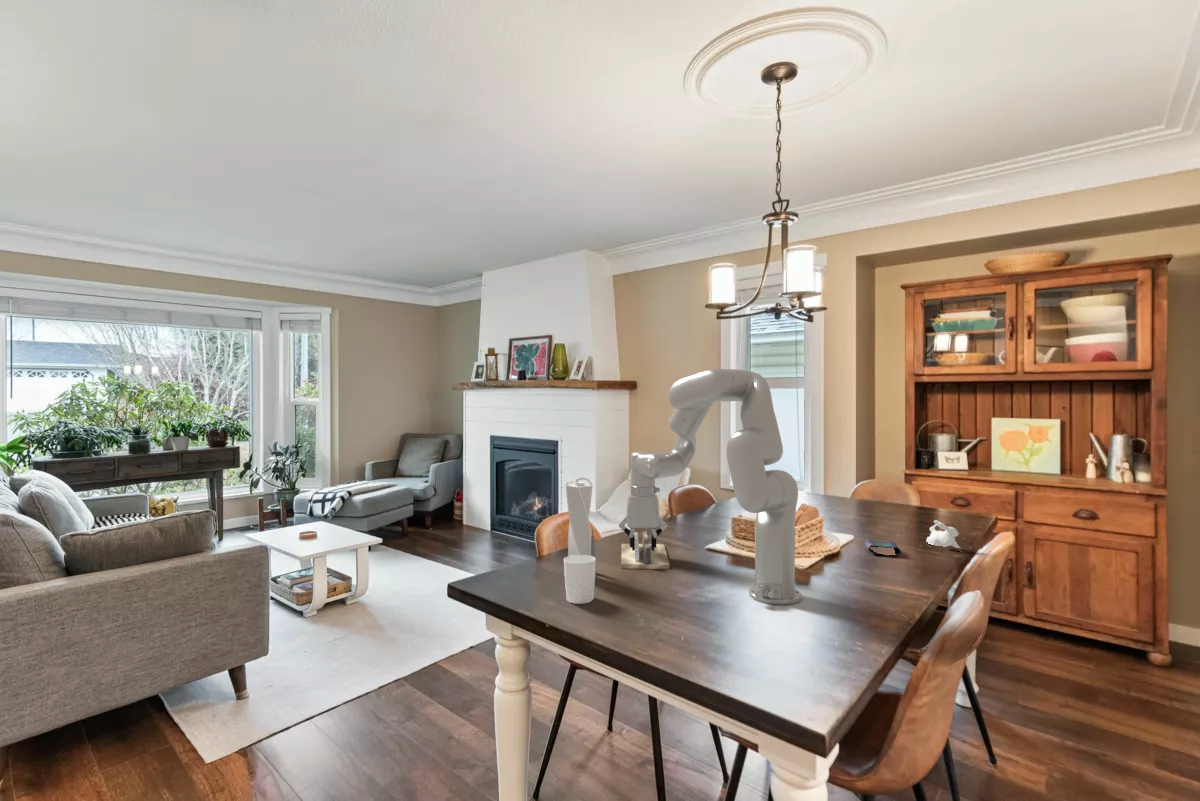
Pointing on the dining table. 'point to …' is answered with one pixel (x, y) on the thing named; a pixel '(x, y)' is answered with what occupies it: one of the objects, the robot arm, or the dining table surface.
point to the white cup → (579, 578)
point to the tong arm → (636, 546)
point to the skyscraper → (580, 519)
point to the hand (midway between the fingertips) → (643, 549)
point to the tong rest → (645, 556)
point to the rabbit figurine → (942, 535)
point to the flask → (882, 544)
